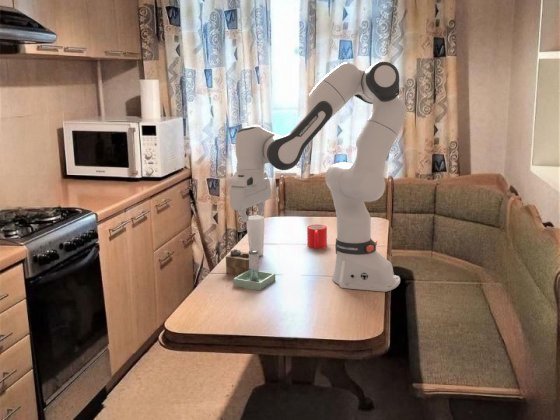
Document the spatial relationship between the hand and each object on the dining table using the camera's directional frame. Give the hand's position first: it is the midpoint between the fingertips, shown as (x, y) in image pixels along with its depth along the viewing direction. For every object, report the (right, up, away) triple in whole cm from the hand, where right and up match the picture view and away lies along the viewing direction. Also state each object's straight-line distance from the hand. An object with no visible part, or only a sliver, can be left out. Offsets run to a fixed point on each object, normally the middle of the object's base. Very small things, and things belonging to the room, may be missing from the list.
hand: (252, 218), depth 189 cm
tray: (0, -22, +5) cm, 22 cm away
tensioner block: (-4, -19, +17) cm, 26 cm away
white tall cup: (0, -15, +36) cm, 39 cm away
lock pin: (0, -21, +5) cm, 22 cm away
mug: (+24, -12, +44) cm, 51 cm away
